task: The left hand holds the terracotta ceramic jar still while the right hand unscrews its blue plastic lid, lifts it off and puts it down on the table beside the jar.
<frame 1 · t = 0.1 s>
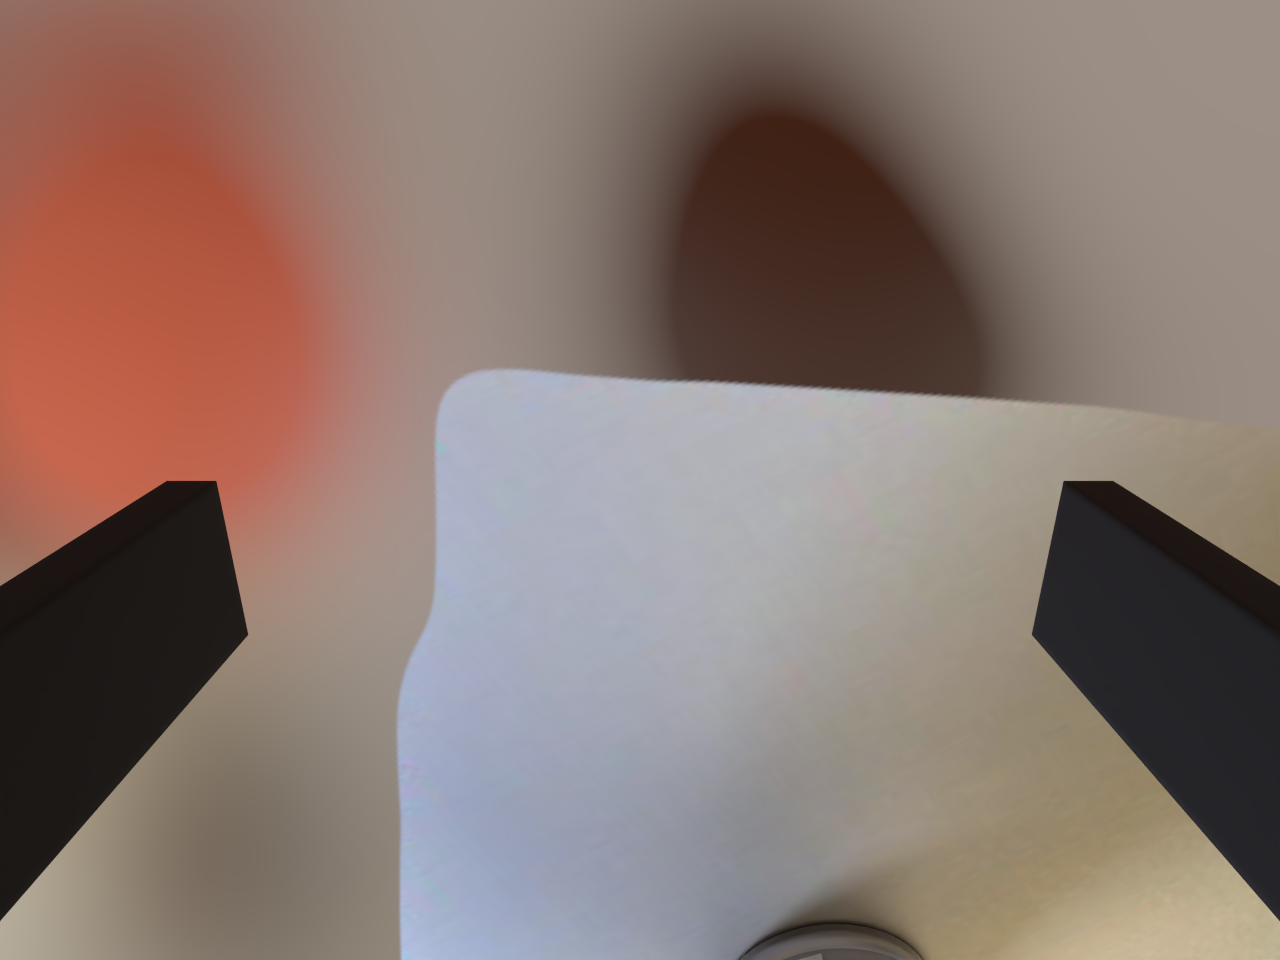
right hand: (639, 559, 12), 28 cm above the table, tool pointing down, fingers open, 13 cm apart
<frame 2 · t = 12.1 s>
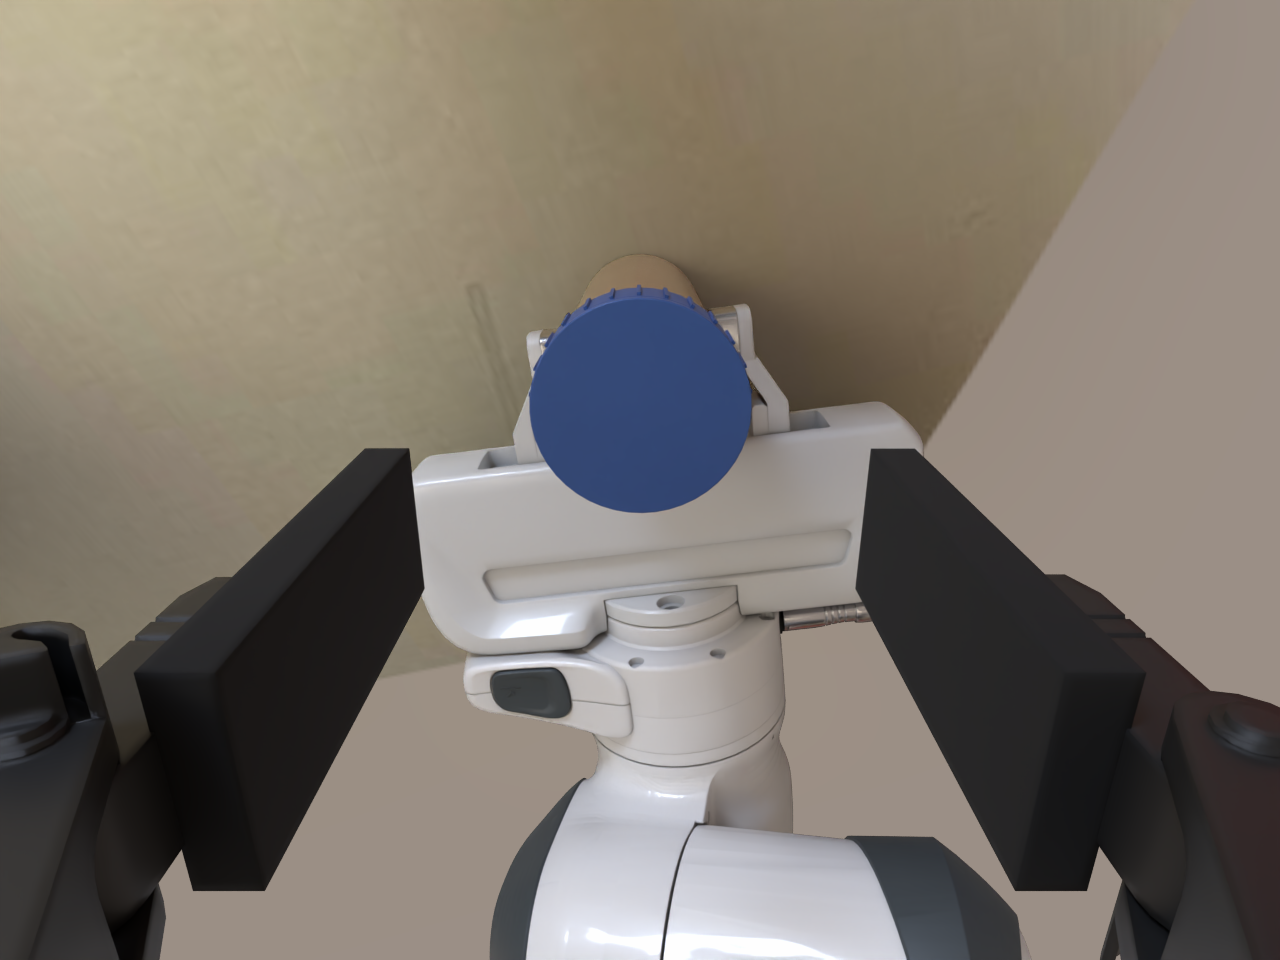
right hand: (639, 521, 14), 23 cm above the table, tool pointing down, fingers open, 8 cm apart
left hand: (636, 319, 29), fingers closed on jar, 5 cm apart
lid: (640, 407, 21), point 15 cm above the table, screwed on, not yet turned
jar: (640, 315, 35), on the table, touching left hand
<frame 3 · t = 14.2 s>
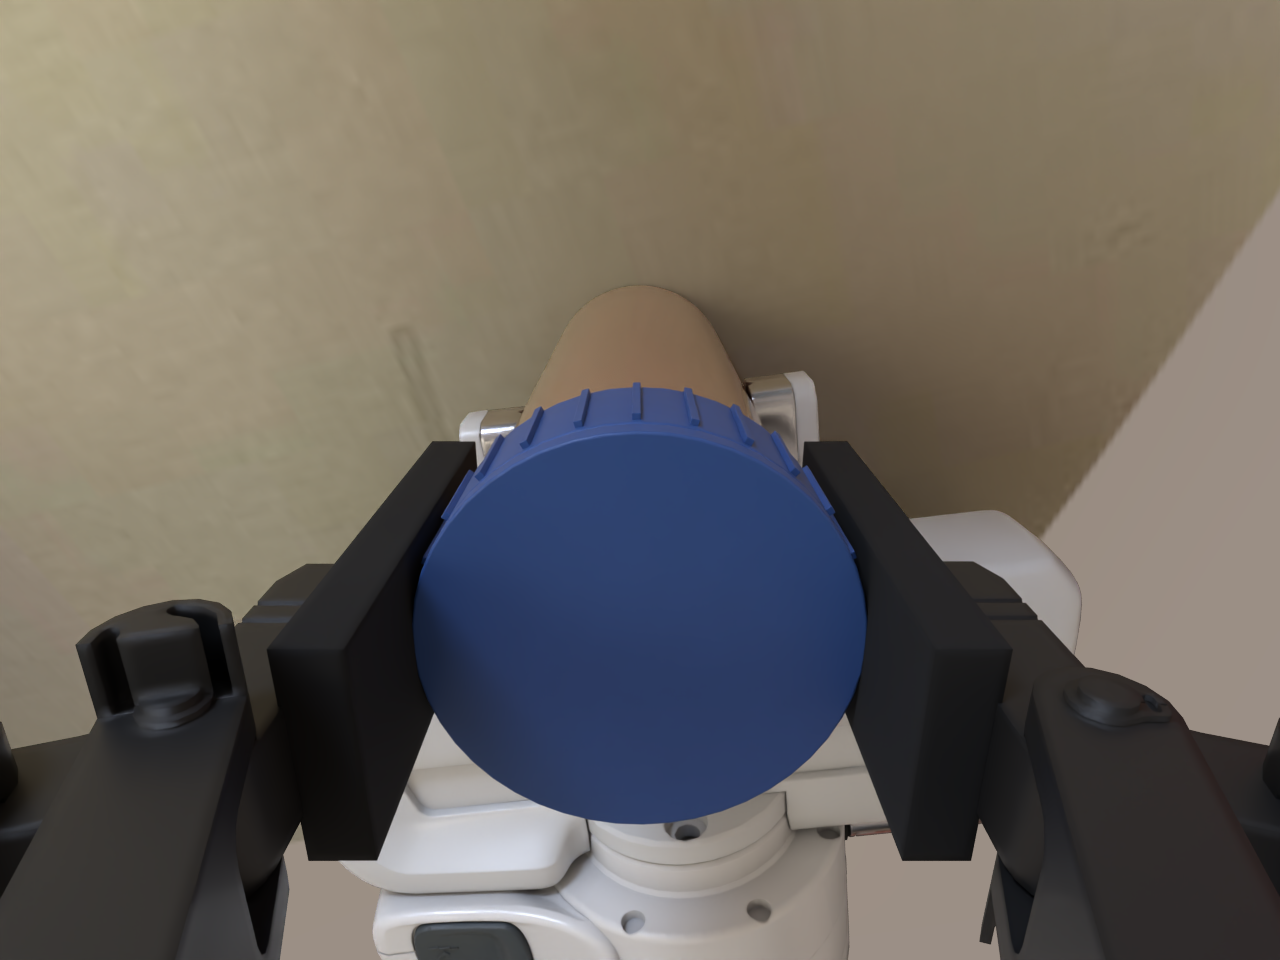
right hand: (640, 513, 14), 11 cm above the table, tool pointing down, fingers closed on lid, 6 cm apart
lid: (639, 634, 10), point 15 cm above the table, screwed on, not yet turned, touching right hand
jar: (639, 371, 25), on the table, touching left hand
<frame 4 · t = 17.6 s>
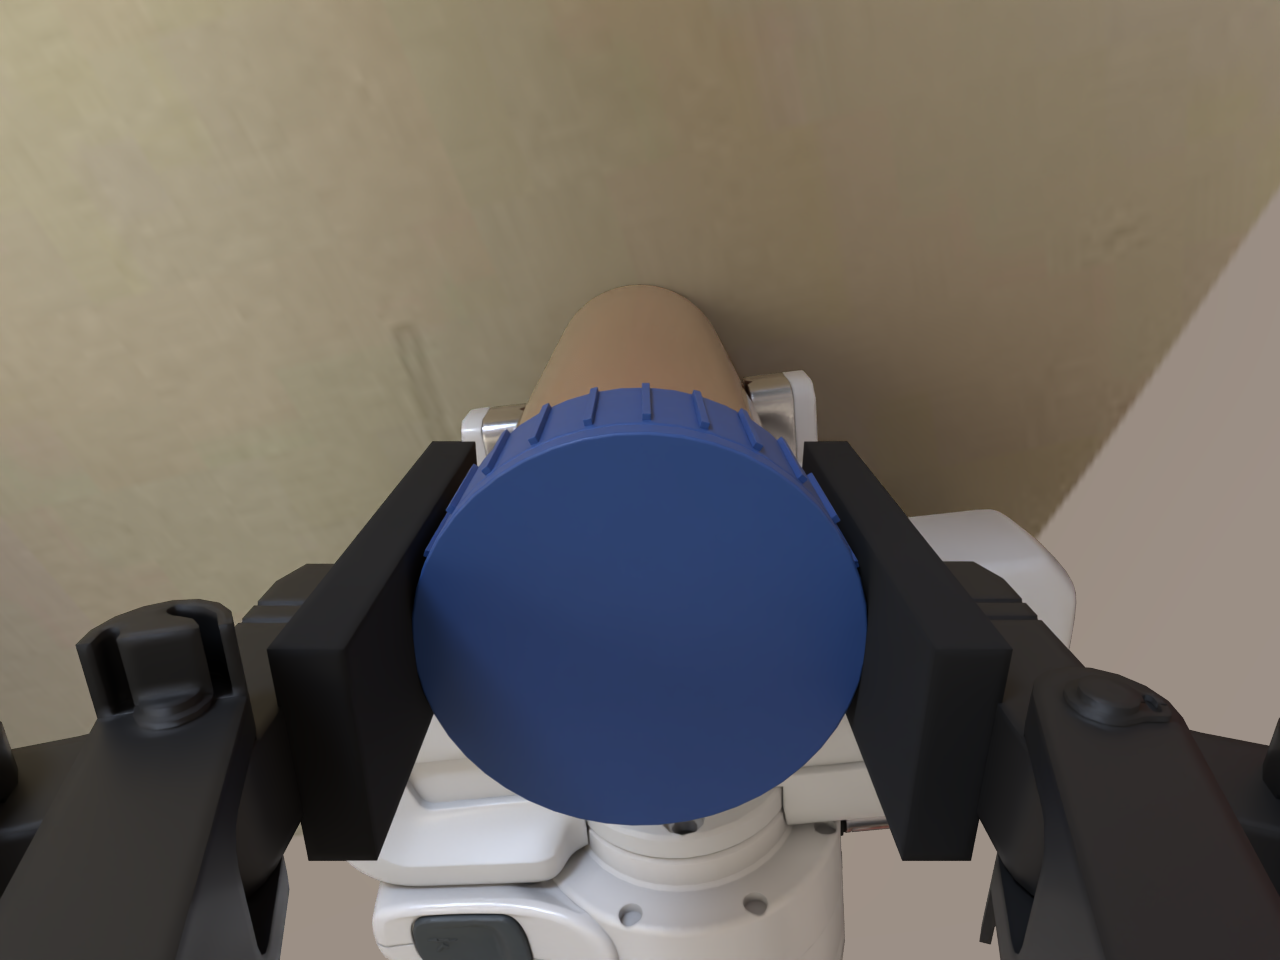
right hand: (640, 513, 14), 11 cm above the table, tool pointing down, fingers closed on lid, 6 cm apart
lid: (639, 635, 10), point 16 cm above the table, turned 95° so far, risen 0.2 cm, still on its thread, touching right hand
jar: (639, 370, 25), on the table, touching left hand
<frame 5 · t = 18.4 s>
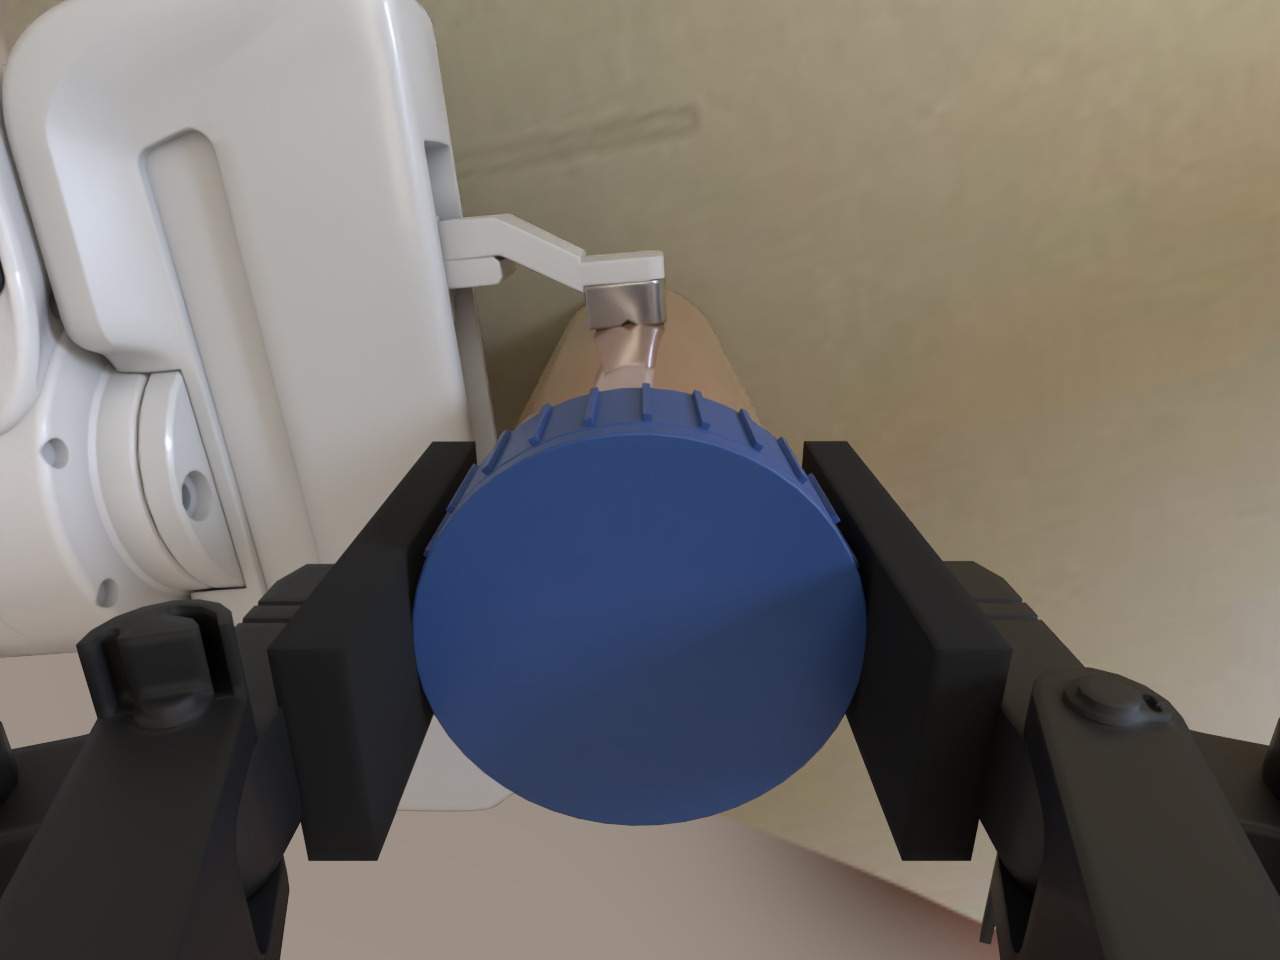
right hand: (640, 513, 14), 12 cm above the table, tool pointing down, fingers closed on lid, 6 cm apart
left hand: (675, 424, 19), fingers closed on jar, 5 cm apart
lid: (639, 635, 10), point 16 cm above the table, off its thread, touching right hand
jar: (639, 369, 25), on the table, touching left hand
when the right hand's fingers open (0 cm above the table, at t = 23.4 s): lid drops 3 cm, point 2 cm above the table.
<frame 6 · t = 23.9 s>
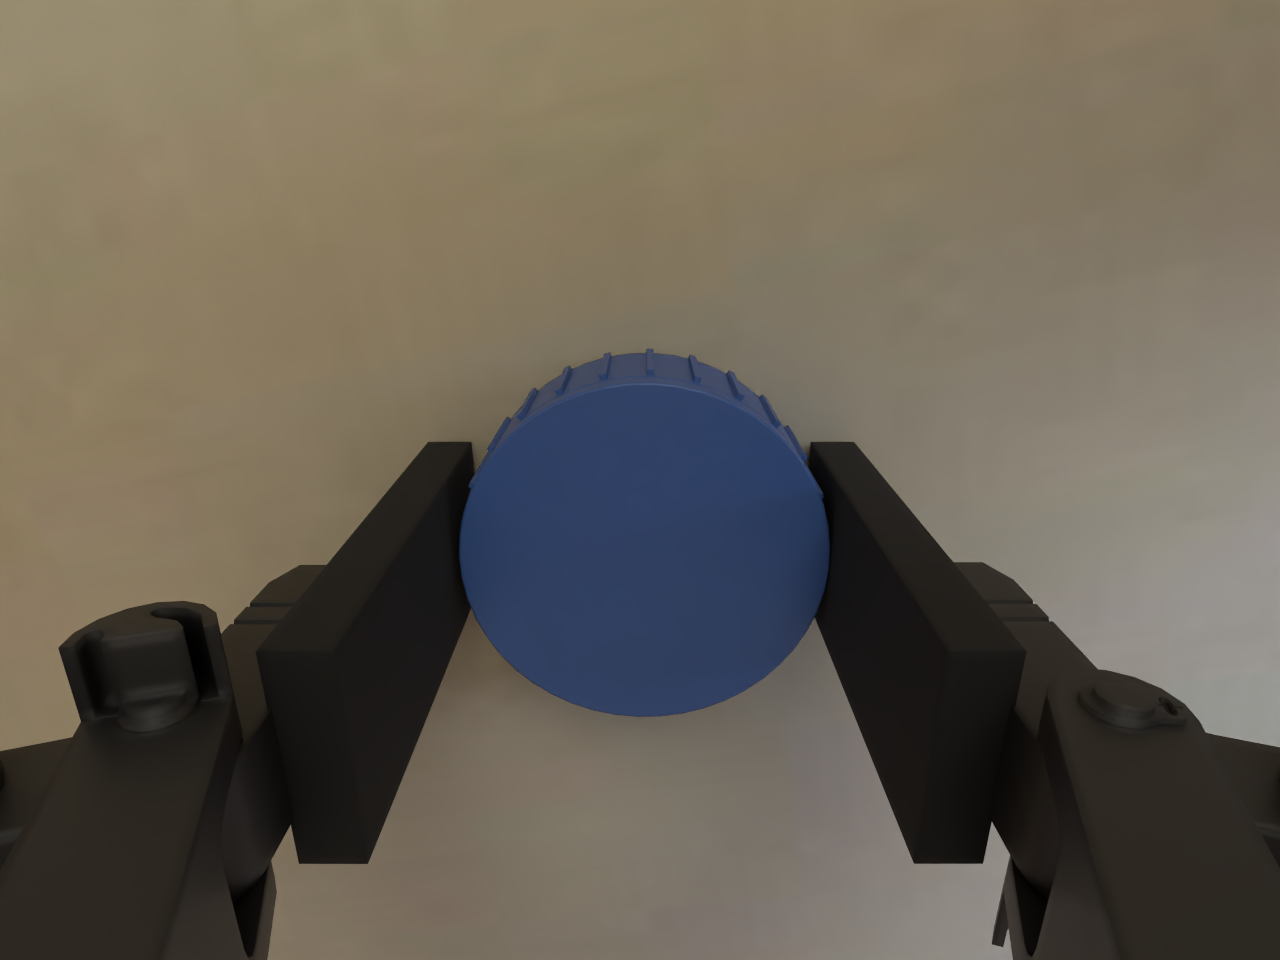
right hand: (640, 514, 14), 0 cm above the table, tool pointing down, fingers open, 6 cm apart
lid: (644, 554, 13), point 2 cm above the table, off its thread
when the left hand's fingers open (6 cm above the table, at t = 25.2 s): jar stays where it is, on the table.
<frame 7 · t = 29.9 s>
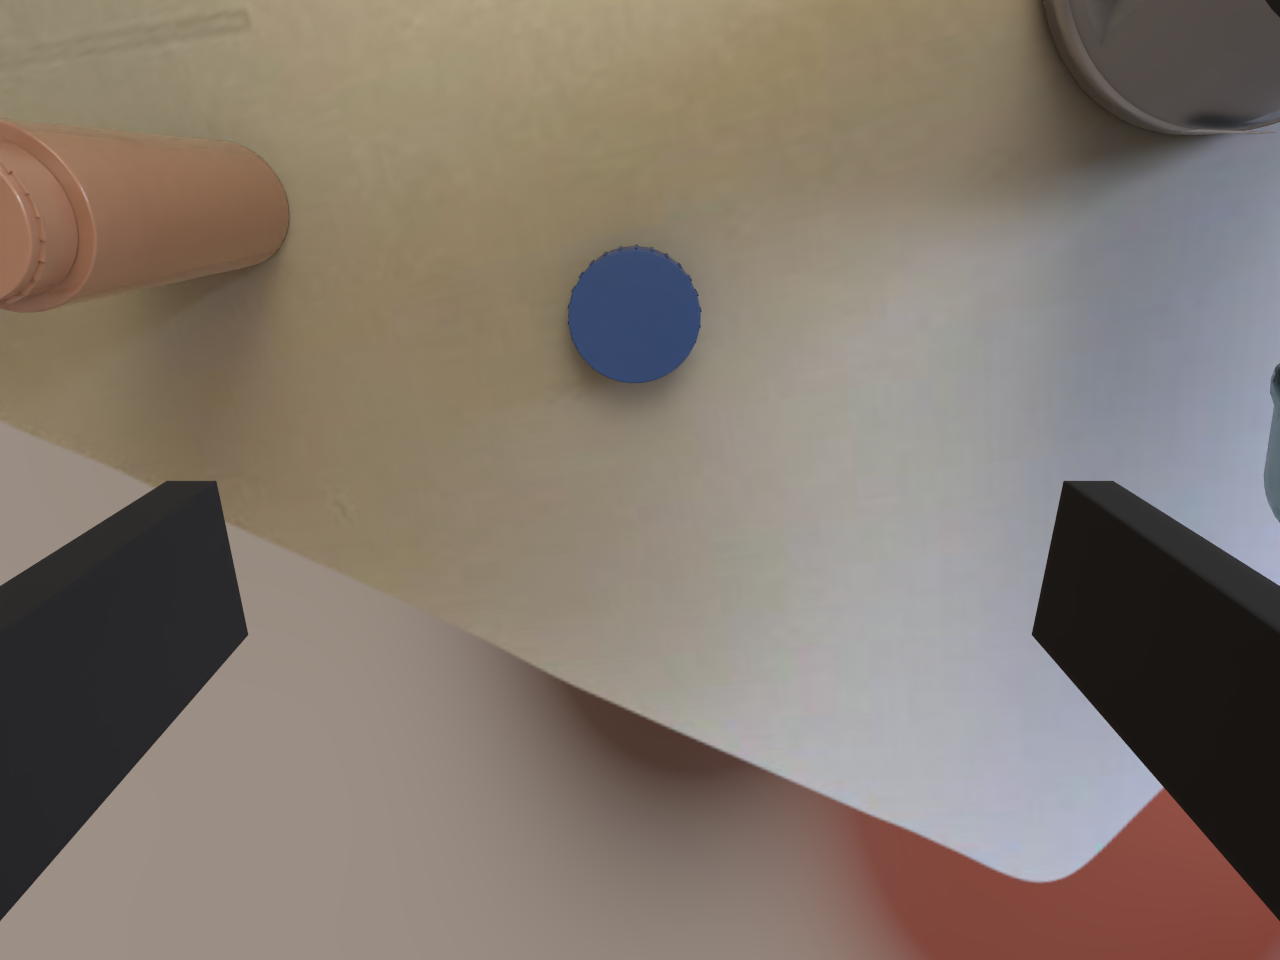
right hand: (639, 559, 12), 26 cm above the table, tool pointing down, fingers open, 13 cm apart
lid: (634, 317, 35), point 2 cm above the table, off its thread
jar: (229, 205, 35), on the table
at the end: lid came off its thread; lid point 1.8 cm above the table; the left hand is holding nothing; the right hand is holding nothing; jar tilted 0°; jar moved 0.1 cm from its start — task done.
